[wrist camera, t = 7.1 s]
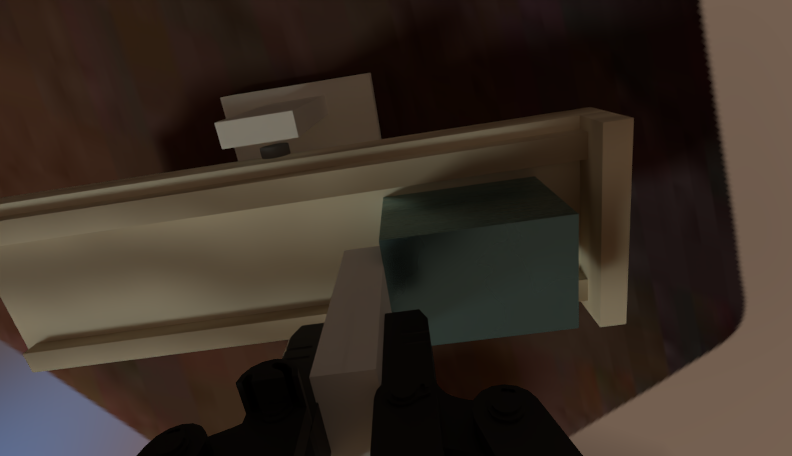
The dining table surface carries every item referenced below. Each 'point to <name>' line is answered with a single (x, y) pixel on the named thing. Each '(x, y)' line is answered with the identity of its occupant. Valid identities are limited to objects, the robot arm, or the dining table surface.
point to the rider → (483, 259)
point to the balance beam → (280, 235)
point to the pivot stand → (300, 116)
